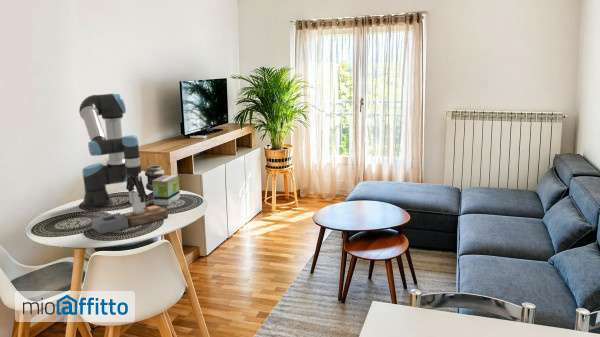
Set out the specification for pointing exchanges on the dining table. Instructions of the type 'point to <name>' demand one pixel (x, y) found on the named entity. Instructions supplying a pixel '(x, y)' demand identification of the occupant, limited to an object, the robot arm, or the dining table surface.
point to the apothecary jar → (153, 176)
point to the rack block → (109, 223)
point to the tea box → (166, 189)
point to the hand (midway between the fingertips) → (137, 205)
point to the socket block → (146, 216)
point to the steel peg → (136, 204)
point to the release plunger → (152, 208)
